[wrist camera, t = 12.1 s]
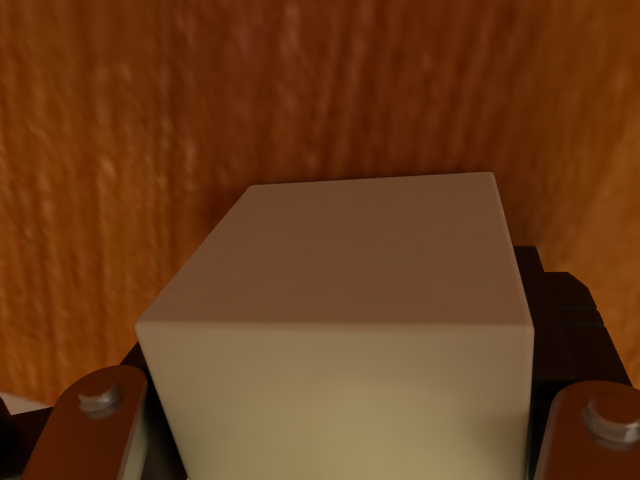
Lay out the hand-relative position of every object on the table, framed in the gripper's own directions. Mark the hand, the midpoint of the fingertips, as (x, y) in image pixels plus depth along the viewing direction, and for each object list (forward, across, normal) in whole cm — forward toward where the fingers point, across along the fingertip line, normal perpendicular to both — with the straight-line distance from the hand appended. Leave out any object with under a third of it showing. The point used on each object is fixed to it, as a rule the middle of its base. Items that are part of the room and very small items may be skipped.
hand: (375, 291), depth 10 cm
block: (0, 0, 0) cm, 0 cm away
